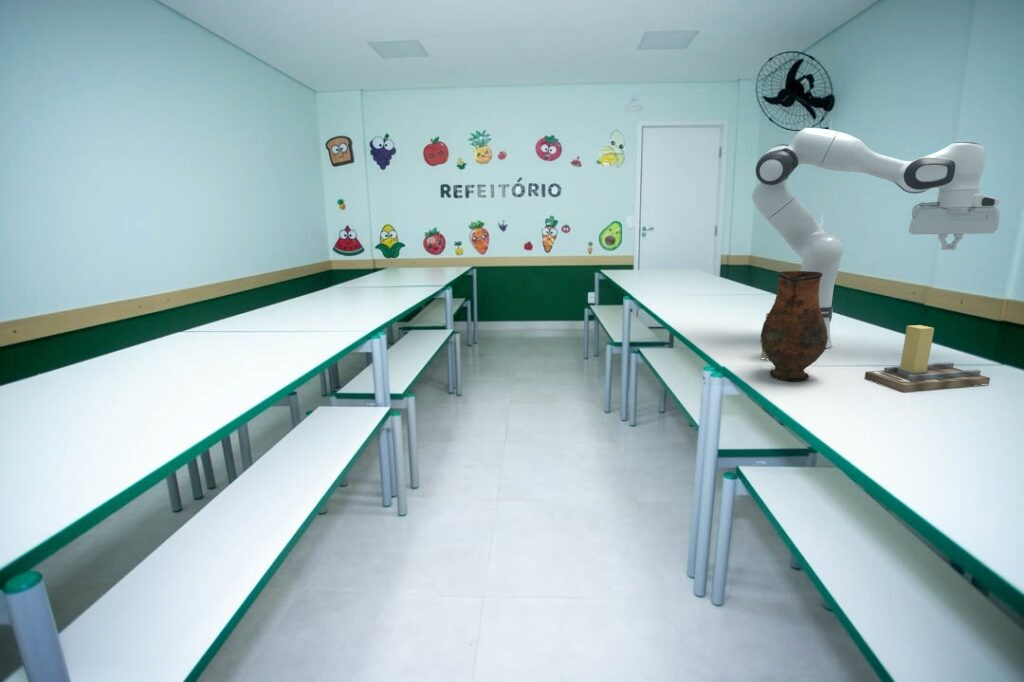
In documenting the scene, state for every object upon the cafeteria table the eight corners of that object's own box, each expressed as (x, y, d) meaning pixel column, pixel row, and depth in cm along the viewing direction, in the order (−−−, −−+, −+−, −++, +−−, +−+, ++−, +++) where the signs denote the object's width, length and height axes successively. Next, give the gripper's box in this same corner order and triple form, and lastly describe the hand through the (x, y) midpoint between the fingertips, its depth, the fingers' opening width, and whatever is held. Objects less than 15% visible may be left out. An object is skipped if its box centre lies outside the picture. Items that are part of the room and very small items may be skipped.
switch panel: (944, 371, 143) (946, 360, 142) (988, 384, 132) (991, 372, 131) (864, 378, 140) (866, 366, 139) (903, 392, 128) (905, 379, 127)
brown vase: (750, 378, 142) (759, 274, 135) (768, 361, 158) (777, 267, 151) (816, 389, 132) (830, 276, 125) (829, 370, 148) (842, 269, 141)
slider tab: (912, 372, 137) (920, 324, 134) (927, 377, 133) (936, 328, 130) (896, 373, 136) (904, 325, 133) (911, 378, 132) (920, 329, 129)
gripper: (918, 202, 144) (910, 250, 147) (1007, 199, 137) (996, 250, 141) (909, 203, 150) (901, 249, 153) (993, 200, 143) (984, 248, 146)
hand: (948, 249), depth 147 cm, fingers closed
